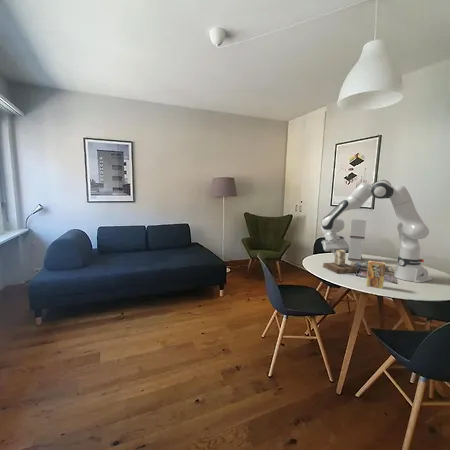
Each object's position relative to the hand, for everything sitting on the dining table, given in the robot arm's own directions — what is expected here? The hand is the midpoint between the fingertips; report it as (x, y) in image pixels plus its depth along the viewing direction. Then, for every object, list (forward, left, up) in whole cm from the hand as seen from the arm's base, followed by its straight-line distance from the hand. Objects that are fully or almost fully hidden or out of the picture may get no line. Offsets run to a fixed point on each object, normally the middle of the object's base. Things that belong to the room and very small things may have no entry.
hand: (339, 255), depth 190 cm
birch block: (0, 0, -6) cm, 6 cm away
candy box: (+1, +34, -11) cm, 36 cm away
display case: (-32, -21, -11) cm, 40 cm away
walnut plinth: (0, 0, -11) cm, 11 cm away
